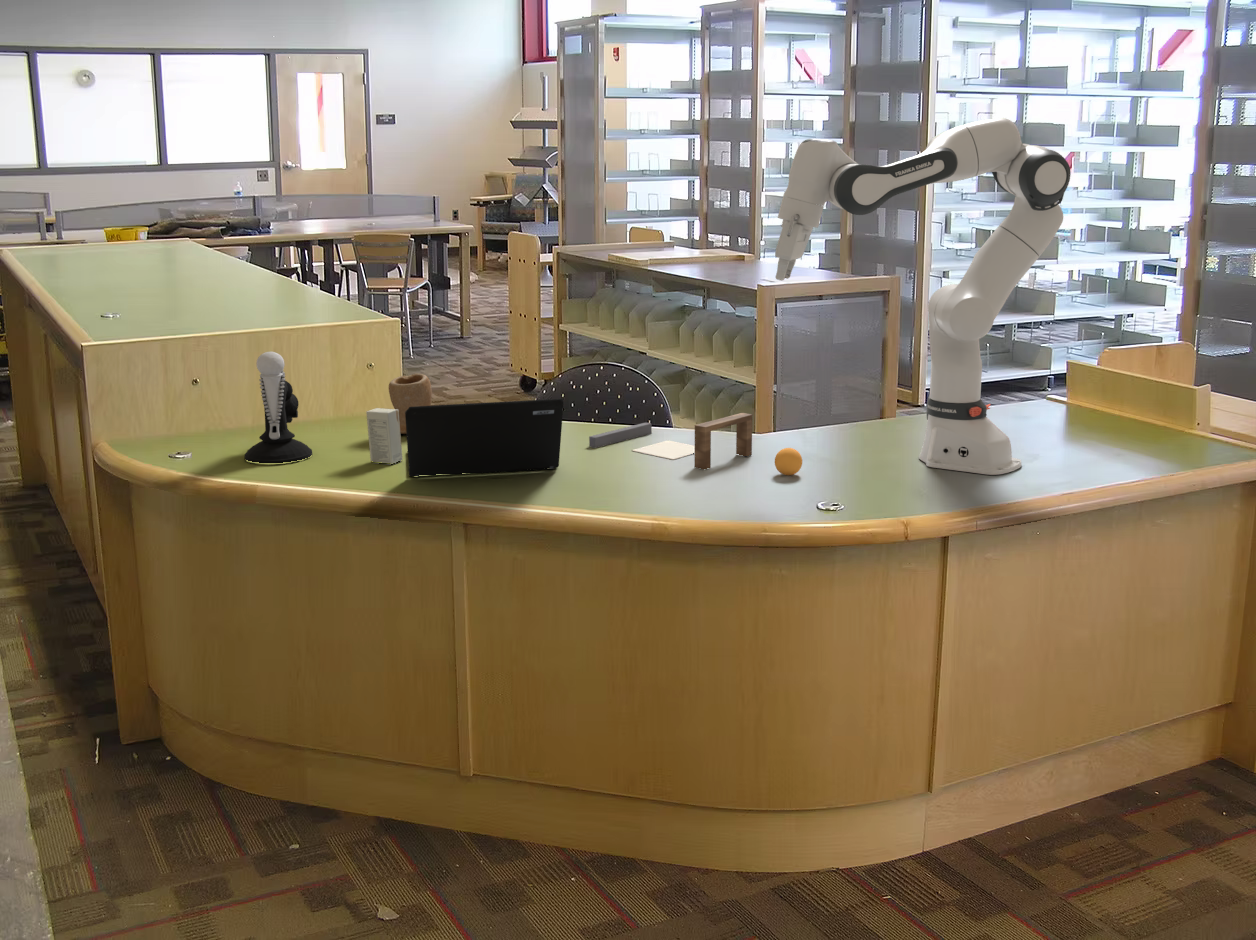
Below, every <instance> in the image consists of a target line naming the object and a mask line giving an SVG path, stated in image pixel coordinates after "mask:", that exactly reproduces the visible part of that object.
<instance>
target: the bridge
mask: <svg viewBox="0 0 1256 940" xmlns="http://www.w3.org/2000/svg"><path fill="white" fill-rule="evenodd" d="M734 425H736V429H735V430H736V431H735V432H736V435H735V436H736V438H735V441H736V443H735V445H736V448H735V455H736V454H739V455H743V456H749V455H753V451H752V450H753V414H751V413H746V412H740V413H736V414H732V415H729V416H725V417H721V418H716V419H713V420H710V421H709V420H708V421H706V422H701V423H698V424H695V425H694V446H695V454H694V468H695V467H696V468H695V469H699V468H701V469H700V470H704V469H706V470H708V469H707V468H709V469H711V465H712V463H711V462H712V461H711V460H712V457H711V456H712V455H711V454H712V449H711V448H712V447H711V446H712V445H711V443H712V442H711V441H712V431H715V430H720V429H723V428H726V427H731V426H734ZM743 456H742V457H743ZM749 457H750V456H749Z"/></svg>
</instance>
